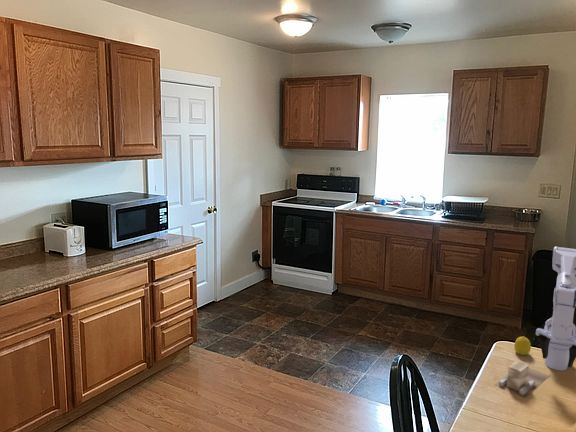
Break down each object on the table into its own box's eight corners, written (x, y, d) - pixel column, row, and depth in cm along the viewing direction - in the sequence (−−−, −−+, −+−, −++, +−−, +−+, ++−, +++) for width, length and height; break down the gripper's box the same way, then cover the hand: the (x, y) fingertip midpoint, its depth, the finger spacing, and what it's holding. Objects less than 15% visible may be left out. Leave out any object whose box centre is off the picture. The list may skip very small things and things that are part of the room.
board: (520, 367, 172) (520, 361, 171) (549, 379, 165) (550, 371, 164) (494, 388, 159) (494, 380, 158) (524, 401, 152) (525, 393, 151)
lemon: (531, 360, 177) (533, 340, 176) (515, 358, 179) (517, 339, 177) (527, 353, 183) (529, 333, 181) (511, 351, 184) (513, 332, 182)
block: (506, 386, 158) (508, 366, 157) (514, 379, 162) (516, 360, 161) (518, 391, 155) (520, 371, 154) (526, 384, 159) (528, 365, 158)
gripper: (533, 319, 156) (529, 357, 159) (582, 334, 146) (577, 374, 148) (542, 314, 161) (538, 351, 164) (590, 327, 150) (585, 367, 153)
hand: (557, 361), depth 156 cm, fingers open, 7 cm apart
